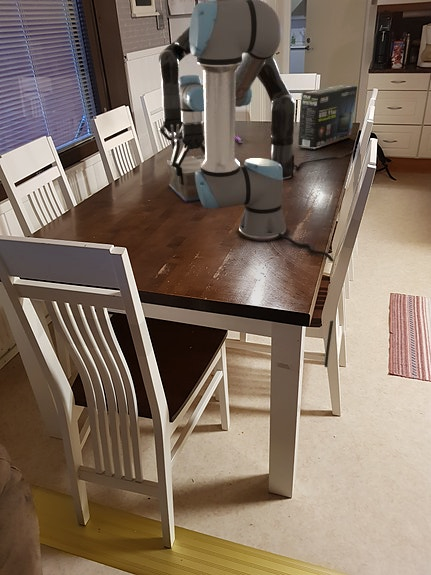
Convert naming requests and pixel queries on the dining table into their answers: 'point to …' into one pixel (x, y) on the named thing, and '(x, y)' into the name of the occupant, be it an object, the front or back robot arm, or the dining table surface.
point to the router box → (326, 115)
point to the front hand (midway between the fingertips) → (195, 181)
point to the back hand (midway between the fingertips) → (175, 149)
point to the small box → (185, 179)
